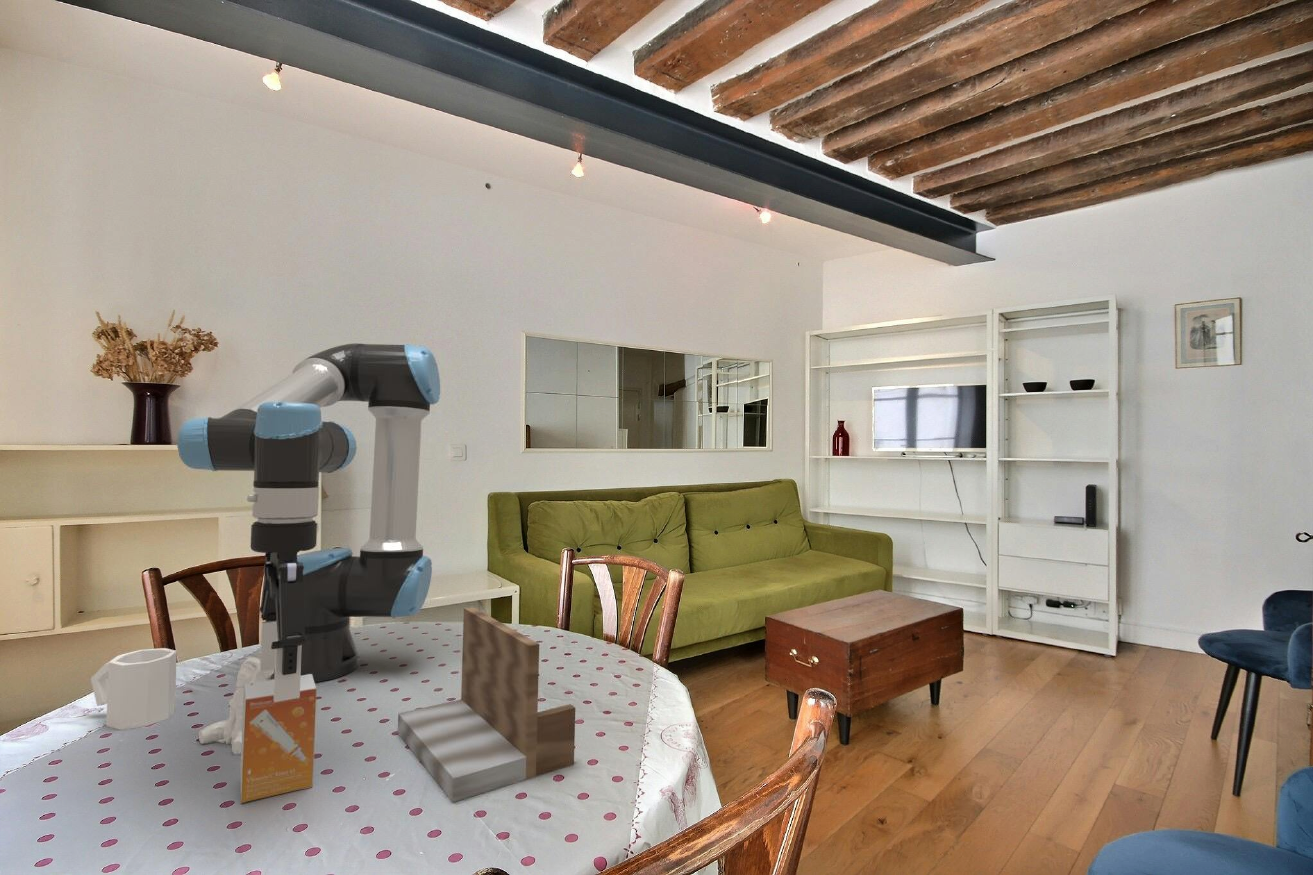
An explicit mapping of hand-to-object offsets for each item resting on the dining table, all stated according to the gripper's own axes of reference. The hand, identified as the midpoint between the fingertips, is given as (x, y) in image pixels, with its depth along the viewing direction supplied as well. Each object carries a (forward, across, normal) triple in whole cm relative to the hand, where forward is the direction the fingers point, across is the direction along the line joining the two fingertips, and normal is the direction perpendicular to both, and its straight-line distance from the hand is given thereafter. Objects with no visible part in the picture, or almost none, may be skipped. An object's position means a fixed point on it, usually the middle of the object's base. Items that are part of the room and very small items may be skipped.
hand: (278, 683), depth 85 cm
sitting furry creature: (+13, -18, -2) cm, 23 cm away
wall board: (+13, +5, +26) cm, 30 cm away
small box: (+14, 0, 0) cm, 14 cm away
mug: (+13, -36, -16) cm, 42 cm away
